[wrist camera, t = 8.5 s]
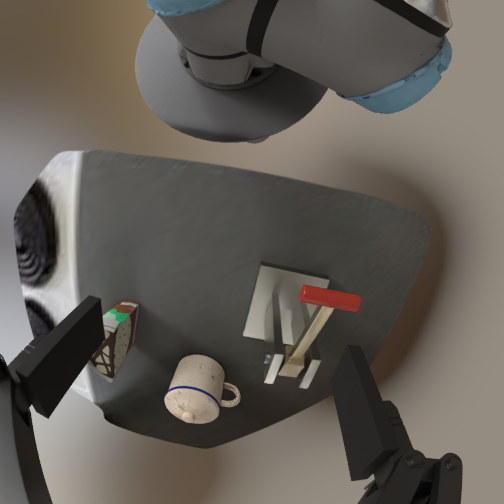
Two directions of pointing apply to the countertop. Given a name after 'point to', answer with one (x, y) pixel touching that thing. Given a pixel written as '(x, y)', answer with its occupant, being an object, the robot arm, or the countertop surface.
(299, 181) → the countertop surface
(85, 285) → the countertop surface
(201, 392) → the teacup with lid
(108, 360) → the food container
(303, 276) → the bracket
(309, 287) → the lever
